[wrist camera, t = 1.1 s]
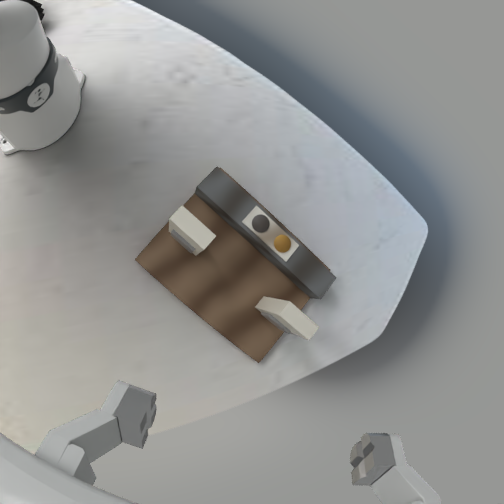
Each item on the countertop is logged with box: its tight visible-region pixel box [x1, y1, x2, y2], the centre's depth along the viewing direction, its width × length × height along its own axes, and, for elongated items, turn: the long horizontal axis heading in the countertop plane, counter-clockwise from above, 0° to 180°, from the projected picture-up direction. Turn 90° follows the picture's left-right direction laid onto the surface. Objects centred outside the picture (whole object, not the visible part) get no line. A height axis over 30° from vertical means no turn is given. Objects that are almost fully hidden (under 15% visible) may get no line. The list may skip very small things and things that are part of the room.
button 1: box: [255, 296, 319, 340], centre depth 40 cm, size 5×2×10 cm, turn 50°
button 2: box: [169, 205, 216, 256], centre depth 38 cm, size 5×2×10 cm, turn 50°
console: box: [135, 167, 336, 363], centre depth 44 cm, size 23×18×6 cm
